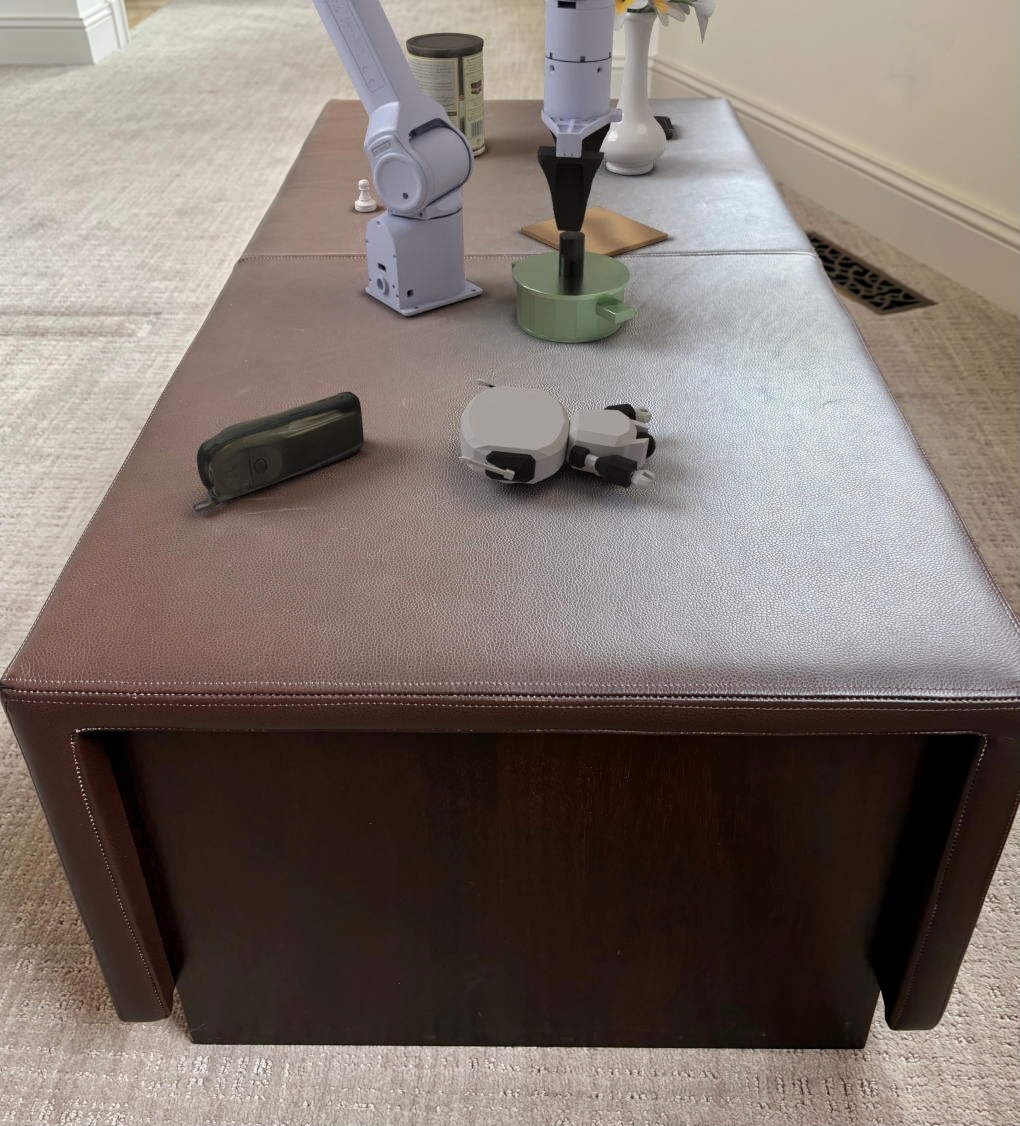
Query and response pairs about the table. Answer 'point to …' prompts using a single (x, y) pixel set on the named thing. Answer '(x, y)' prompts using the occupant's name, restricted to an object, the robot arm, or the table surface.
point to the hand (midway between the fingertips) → (573, 215)
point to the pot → (571, 316)
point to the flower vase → (642, 83)
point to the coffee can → (452, 79)
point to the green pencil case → (279, 447)
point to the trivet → (601, 232)
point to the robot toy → (552, 438)
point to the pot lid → (571, 272)
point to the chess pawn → (365, 198)
